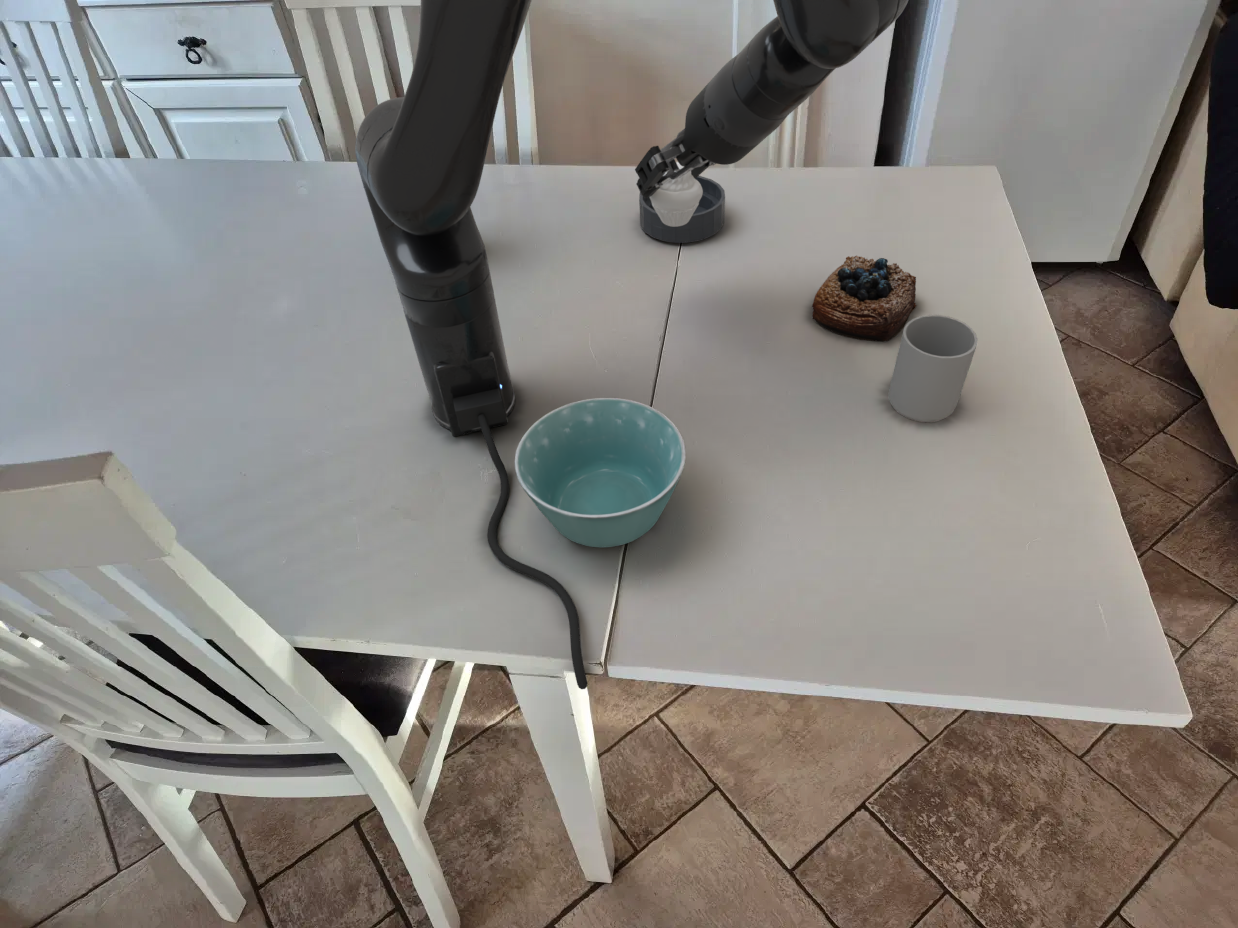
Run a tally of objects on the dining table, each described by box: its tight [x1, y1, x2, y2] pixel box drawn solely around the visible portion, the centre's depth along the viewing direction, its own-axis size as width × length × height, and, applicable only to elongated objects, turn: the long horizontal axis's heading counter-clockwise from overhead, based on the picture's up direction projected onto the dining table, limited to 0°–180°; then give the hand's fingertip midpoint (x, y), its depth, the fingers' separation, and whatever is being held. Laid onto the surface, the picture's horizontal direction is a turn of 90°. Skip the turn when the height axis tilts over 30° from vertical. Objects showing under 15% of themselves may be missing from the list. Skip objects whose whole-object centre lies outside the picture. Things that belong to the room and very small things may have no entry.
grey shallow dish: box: [638, 175, 726, 244], centre depth 116 cm, size 12×12×4 cm
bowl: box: [514, 397, 687, 548], centre depth 77 cm, size 16×16×8 cm
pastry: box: [811, 255, 918, 343], centre depth 99 cm, size 11×12×6 cm
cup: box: [887, 314, 979, 423], centre depth 86 cm, size 7×10×9 cm
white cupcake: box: [650, 161, 703, 227], centre depth 93 cm, size 6×6×7 cm
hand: (666, 180), depth 93 cm, fingers closed on white cupcake, 6 cm apart
